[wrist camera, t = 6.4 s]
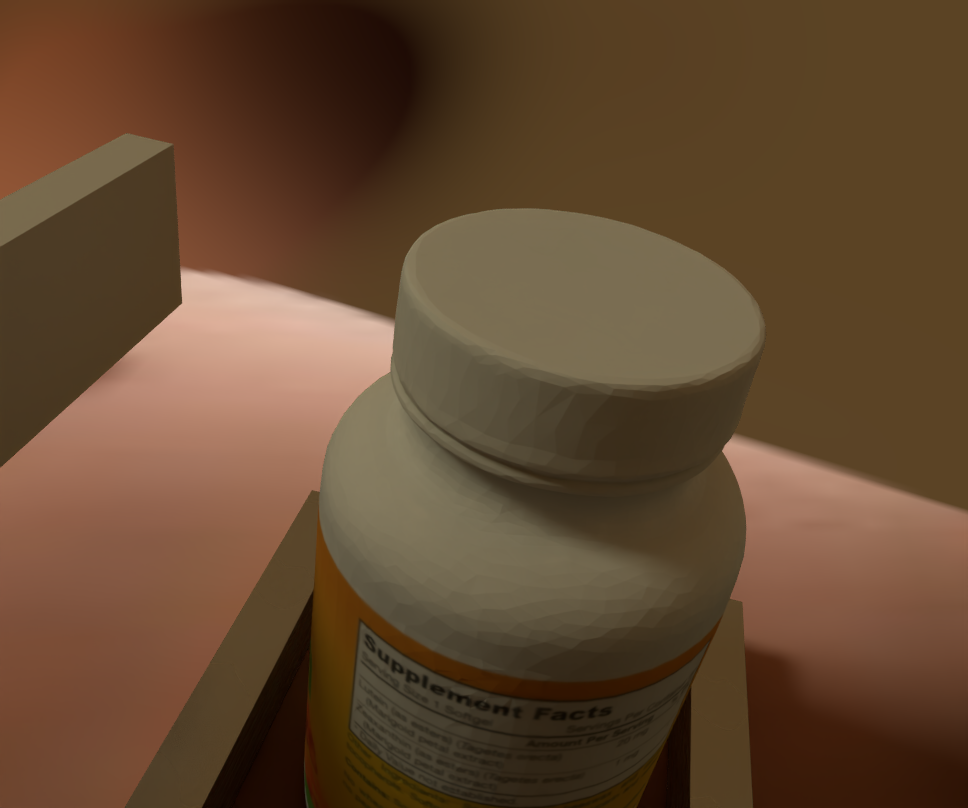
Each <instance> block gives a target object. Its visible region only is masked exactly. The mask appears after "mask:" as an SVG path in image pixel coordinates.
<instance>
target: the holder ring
mask: <svg viewBox="0 0 968 808" xmlns="http://www.w3.org/2000/svg"><path fill="white" fill-rule="evenodd" d="M319 494H320V492H317V491H313V490H312V491H311V493H310V495H309V496H308V498H307V500H306V501H305V503H304V505H303V507H302V508H301V510H300V512H299V513H298V515H297V517H296V518H295V520H294V522H293V523H292V525H291V527H290V529H289V530H288V532H287V534H286V535H285V537H284V539H283V540H282V542H281V544H280V545H279V547H278V549H277V551H276V552H275V554H274V556H273V557H272V559H271V561H270V562H269V564H268V566H267V567H266V569H265V571H264V573H263V574H262V576H261V578H260V579H259V581H258V583H257V584H256V586H255V588H254V589H253V591H252V593H251V595H250V596H249V598H248V600H247V601H246V603H245V605H244V606H243V608H242V610H241V611H240V613H239V615H238V616H237V618H236V620H235V622H234V623H233V625H232V627H231V628H230V630H229V632H228V633H227V635H226V637H225V638H224V640H223V642H222V644H221V645H220V647H219V649H218V650H217V652H216V654H215V655H214V657H213V659H212V660H211V662H210V664H209V666H208V667H207V669H206V671H205V672H204V674H203V676H202V677H201V679H200V681H199V682H198V684H197V686H196V688H195V689H194V691H193V693H192V694H191V696H190V698H189V699H188V701H187V703H186V704H185V706H184V708H183V710H182V711H181V713H180V715H179V716H178V718H177V720H176V721H175V723H174V725H173V726H172V728H171V730H170V732H169V733H168V735H167V737H166V738H165V740H164V742H163V743H162V745H161V747H160V748H159V750H158V752H157V754H156V755H155V757H154V759H153V760H152V762H151V764H150V765H149V767H148V769H147V770H146V772H145V774H144V776H143V777H142V779H141V781H140V782H139V784H138V786H137V787H136V789H135V791H134V792H133V794H132V796H131V798H130V799H129V801H128V803H127V804H126V806H125V808H231V807H232V805H233V803H234V801H235V798H236V796H237V794H238V792H239V790H240V788H241V786H242V784H243V782H244V780H245V778H246V776H247V774H248V772H249V769H250V767H251V765H252V763H253V761H254V759H255V757H256V755H257V753H258V751H259V749H260V747H261V745H262V742H263V740H264V738H265V736H266V734H267V732H268V730H269V728H270V726H271V724H272V722H273V720H274V718H275V715H276V713H277V711H278V709H279V707H280V705H281V703H282V701H283V699H284V697H285V695H286V693H287V691H288V689H289V686H290V684H291V682H292V680H293V678H294V676H295V674H296V672H297V670H298V668H299V666H300V664H301V662H302V659H303V657H304V655H305V653H306V651H307V649H308V647H309V645H310V640H311V624H312V608H313V592H314V576H315V558H316V539H317V520H318V506H319ZM666 808H753V797H752V778H751V759H750V740H749V721H748V702H747V683H746V664H745V645H744V626H743V608H742V602H740V601H736V600H732V599H729V601H728V604H727V606H726V609H725V612H724V614H723V617H722V619H721V622H720V624H719V626H718V629H717V631H716V633H715V635H714V637H713V640H712V642H711V644H710V646H709V648H708V650H707V653H706V655H705V657H704V659H703V661H702V664H701V666H700V668H699V670H698V672H697V674H696V677H695V679H694V681H693V683H692V685H691V688H690V690H689V692H688V694H687V696H686V699H685V701H684V703H683V705H682V707H681V710H680V712H679V714H678V716H677V719H676V721H675V723H674V725H673V727H672V730H671V732H670V734H669V739H668V766H667V794H666Z"/></svg>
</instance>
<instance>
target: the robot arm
mask: <svg viewBox="0 0 968 808" xmlns="http://www.w3.org/2000/svg"><path fill="white" fill-rule="evenodd" d="M179 258H180V256H179V239H178V219H177V201H176V183H175V166H174V145H173V144H171V143H166V142H162V141H157V140H153V139H149V138H145V137H140V136H136V135H132V134H127V133H126V134H124V135H122V136H120V137H118V138H117V139H115V140H113V141H111V142H109V143H107V144H105V145H103V146H101V147H100V148H98V149H96V150H94V151H92V152H90V153H88V154H86V155H84V156H82V157H81V158H79V159H77V160H75V161H73V162H71V163H69V164H67V165H65V166H63V167H61V168H60V169H58V170H56V171H54V172H52V173H50V174H48V175H46V176H44V177H43V178H41V179H39V180H37V181H35V182H33V183H31V184H29V185H27V186H25V187H23V188H22V189H20V190H18V191H16V192H14V193H12V194H10V195H8V196H6V197H4V198H2V199H1V200H0V467H2V466H3V465H4V464H5V463H6V462H7V461H8V460H9V459H10V458H11V457H13V456H14V455H15V454H16V453H17V452H18V451H19V450H20V449H21V448H23V447H24V446H25V445H26V444H27V443H28V442H29V441H30V440H31V439H32V438H34V437H35V436H36V435H37V434H38V433H39V432H40V431H41V430H42V429H44V428H45V427H46V426H47V425H48V424H49V423H50V422H51V421H52V420H53V419H55V418H56V417H57V416H58V415H59V414H60V413H61V412H62V411H63V410H65V409H66V408H67V407H68V406H69V405H70V404H71V403H72V402H73V401H74V400H76V399H77V398H78V397H79V396H80V395H81V394H82V393H83V392H84V391H86V390H87V389H88V388H89V387H90V386H91V385H92V384H93V383H94V382H95V381H97V380H98V379H99V378H100V377H101V376H102V375H103V374H104V373H105V372H106V371H108V370H109V369H110V368H111V367H112V366H113V365H114V364H115V363H116V362H118V361H119V360H120V359H121V358H122V357H123V356H124V355H125V354H126V353H127V352H129V351H130V350H131V349H132V348H133V347H134V346H135V345H136V344H137V343H139V342H140V341H141V340H142V339H143V338H144V337H145V336H146V335H147V334H148V333H150V332H151V331H152V330H153V329H154V328H155V327H156V326H157V325H158V324H160V323H161V322H162V321H163V320H164V319H165V318H166V317H167V316H168V315H169V314H171V313H172V312H173V311H174V310H175V309H176V308H177V307H178V306H179V305H181V304H182V293H181V275H180V259H179Z"/></svg>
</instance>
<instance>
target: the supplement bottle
mask: <svg viewBox="0 0 968 808" xmlns="http://www.w3.org/2000/svg"><path fill="white" fill-rule="evenodd" d="M765 339H766V329H765V321H764V317H763V314H762V312H761V310H760V307H759V306H758V304H757V302H756V301H755V299H754V298H753V296H752V295H751V294H750V293H749V291H748V290H747V289H746V288H745V287H744V286H743V285H742V284H741V283H740V282H739V281H738V280H737V279H736V278H735V277H734V276H733V275H731V274H730V273H729V272H728V271H727V270H725V269H724V268H722V267H721V266H719V265H718V264H717V263H715V262H713V261H712V260H710V259H708V258H707V257H705V256H703V255H702V254H700V253H699V252H697V251H694V250H692V249H690V248H688V247H686V246H684V245H682V244H680V243H678V242H676V241H673V240H671V239H669V238H667V237H664V236H662V235H659V234H656V233H653V232H650V231H647V230H645V229H642V228H640V227H637V226H634V225H631V224H627V223H623V222H619V221H615V220H611V219H606V218H603V217H597V216H592V215H586V214H580V213H573V212H565V211H556V210H548V209H497V210H489V211H483V212H479V213H473V214H467V215H464V216H460V217H457V218H454V219H450V220H448V221H446V222H443V223H441V224H438V225H436V226H434V227H433V228H431V229H430V230H428V231H427V232H425V233H423V234H422V235H421V236H420V237H419V238H418V239H417V240H416V241H415V243H414V244H413V246H412V247H411V249H410V250H409V252H408V254H407V255H406V258H405V261H404V264H403V268H402V273H401V280H400V287H399V295H398V302H397V310H396V318H395V329H394V340H393V354H392V357H391V369H390V370H391V372H389V373H388V374H386V375H384V376H383V377H381V378H380V379H378V380H377V381H376V382H375V383H373V384H372V385H371V386H370V387H368V388H367V389H366V390H365V391H364V392H363V393H362V394H361V395H360V396H359V397H358V398H357V399H356V400H355V401H354V402H353V404H352V405H351V406H350V407H349V408H348V410H347V411H346V412H345V413H344V415H343V416H342V418H341V420H340V422H339V423H338V425H337V427H336V429H335V431H334V432H333V434H332V437H331V439H330V442H329V444H328V446H327V450H326V455H325V459H324V464H323V470H322V479H321V487H320V494H319V506H318V520H317V539H316V558H315V576H314V592H313V608H312V624H311V640H310V657H309V676H308V695H307V714H306V736H305V756H304V783H305V799H306V806H307V808H637V806H638V803H639V801H640V799H641V796H642V794H643V792H644V789H645V787H646V785H647V783H648V781H649V778H650V776H651V774H652V772H653V769H654V767H655V765H656V763H657V761H658V758H659V756H660V754H661V752H662V749H663V747H664V745H665V743H666V741H667V738H668V736H669V734H670V732H671V730H672V727H673V725H674V723H675V721H676V719H677V716H678V714H679V712H680V710H681V707H682V705H683V703H684V701H685V699H686V696H687V694H688V692H689V690H690V688H691V685H692V683H693V681H694V679H695V677H696V674H697V672H698V670H699V668H700V666H701V664H702V661H703V659H704V657H705V655H706V653H707V650H708V648H709V646H710V644H711V642H712V640H713V637H714V635H715V633H716V631H717V629H718V626H719V624H720V622H721V619H722V617H723V614H724V612H725V609H726V606H727V604H728V601H729V598H730V596H731V593H732V590H733V588H734V585H735V582H736V580H737V577H738V574H739V571H740V567H741V564H742V561H743V557H744V550H745V541H746V517H745V511H744V504H743V499H742V495H741V492H740V488H739V485H738V482H737V480H736V477H735V475H734V473H733V470H732V468H731V466H730V464H729V462H728V460H727V458H726V457H725V455H724V453H723V452H722V450H723V448H724V445H725V444H726V443H727V442H728V441H729V440H730V439H731V437H732V435H733V433H734V431H735V429H736V428H737V426H738V423H739V421H740V418H741V415H742V411H743V407H744V404H745V401H746V398H747V395H748V392H749V389H750V386H751V383H752V380H753V377H754V374H755V372H756V369H757V367H758V364H759V362H760V359H761V356H762V353H763V350H764V346H765Z"/></svg>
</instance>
